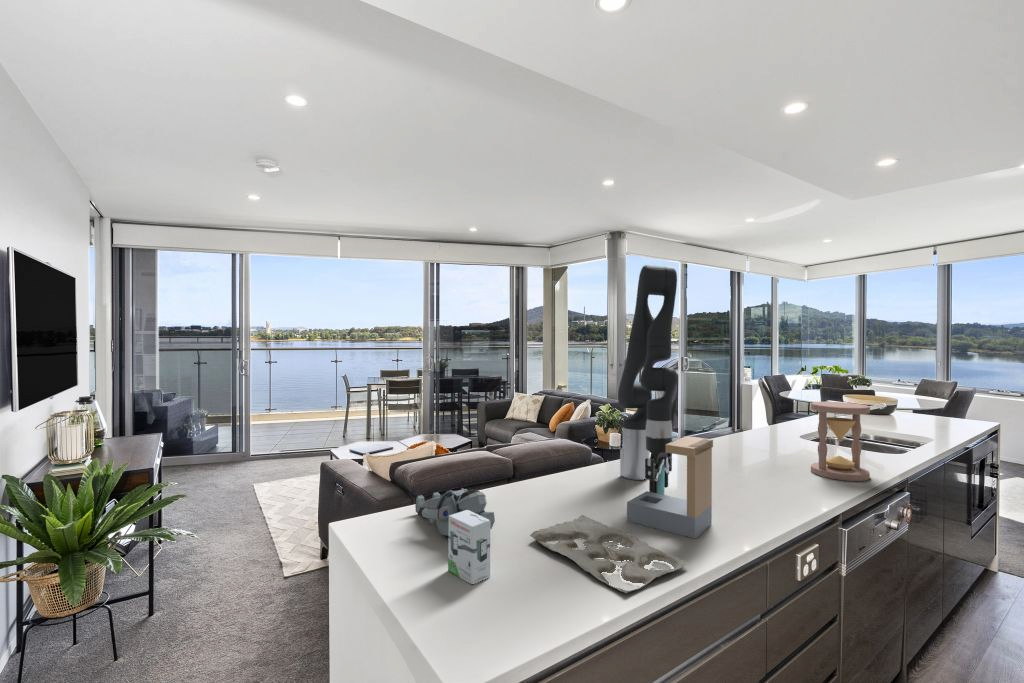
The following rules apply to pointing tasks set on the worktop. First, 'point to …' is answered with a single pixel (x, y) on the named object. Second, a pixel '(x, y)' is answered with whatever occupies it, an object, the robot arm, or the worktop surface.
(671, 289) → the robot arm
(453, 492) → the toy
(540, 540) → the stone relief
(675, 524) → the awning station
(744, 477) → the worktop surface
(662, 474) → the peg
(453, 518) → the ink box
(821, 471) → the hourglass
